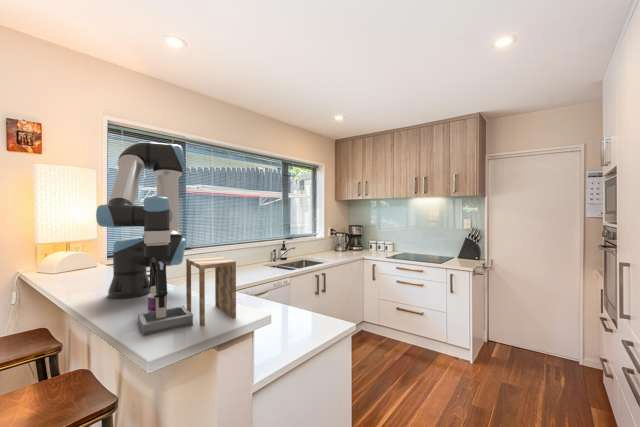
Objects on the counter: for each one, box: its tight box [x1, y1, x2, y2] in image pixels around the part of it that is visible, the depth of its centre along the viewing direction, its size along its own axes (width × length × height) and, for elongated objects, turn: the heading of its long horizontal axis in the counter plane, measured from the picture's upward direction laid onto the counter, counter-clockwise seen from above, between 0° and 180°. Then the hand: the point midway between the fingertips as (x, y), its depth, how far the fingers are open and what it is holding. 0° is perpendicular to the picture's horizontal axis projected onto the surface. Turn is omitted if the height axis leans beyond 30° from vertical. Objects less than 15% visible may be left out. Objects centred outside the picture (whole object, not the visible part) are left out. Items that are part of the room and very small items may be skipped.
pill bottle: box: [147, 286, 168, 312], centre depth 98 cm, size 5×5×10 cm
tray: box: [137, 305, 194, 337], centre depth 90 cm, size 11×13×3 cm
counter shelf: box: [185, 255, 237, 327], centre depth 98 cm, size 16×11×18 cm
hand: (158, 314), depth 96 cm, fingers open, 9 cm apart
